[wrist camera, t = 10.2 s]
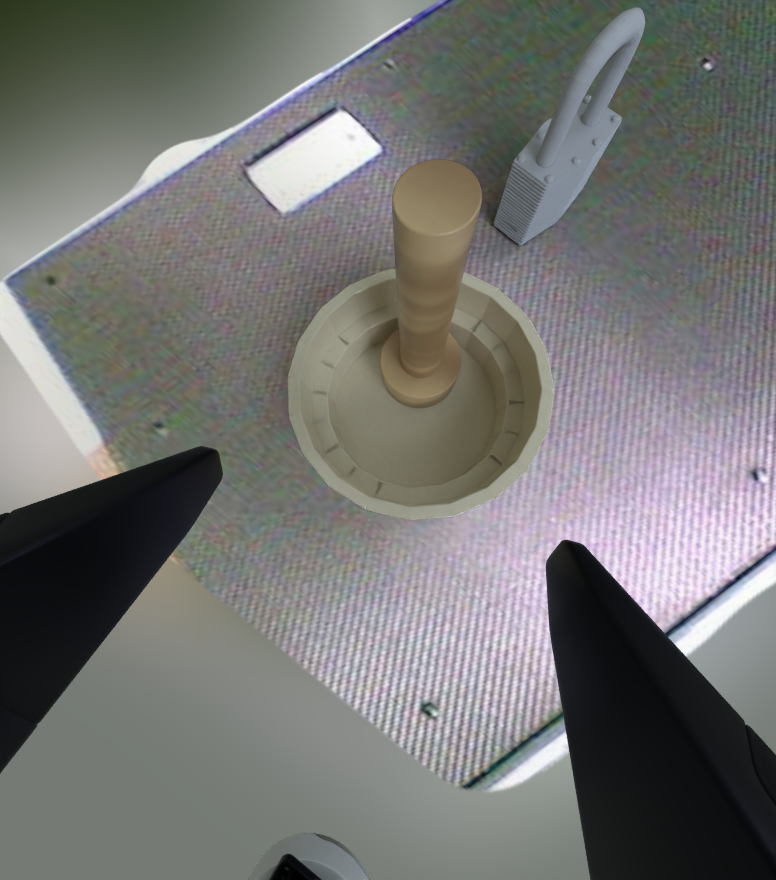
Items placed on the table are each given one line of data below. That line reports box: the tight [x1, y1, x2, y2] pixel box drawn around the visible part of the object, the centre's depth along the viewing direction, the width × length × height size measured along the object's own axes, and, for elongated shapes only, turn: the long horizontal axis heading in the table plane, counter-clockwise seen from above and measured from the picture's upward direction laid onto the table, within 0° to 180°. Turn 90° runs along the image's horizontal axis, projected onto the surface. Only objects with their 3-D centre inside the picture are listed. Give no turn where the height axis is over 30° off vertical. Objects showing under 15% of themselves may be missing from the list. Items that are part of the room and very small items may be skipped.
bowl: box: [288, 269, 555, 520], centre depth 20 cm, size 14×14×6 cm
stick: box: [380, 159, 482, 408], centre depth 15 cm, size 5×5×13 cm
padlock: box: [493, 7, 645, 245], centre depth 20 cm, size 7×4×10 cm, turn 133°
